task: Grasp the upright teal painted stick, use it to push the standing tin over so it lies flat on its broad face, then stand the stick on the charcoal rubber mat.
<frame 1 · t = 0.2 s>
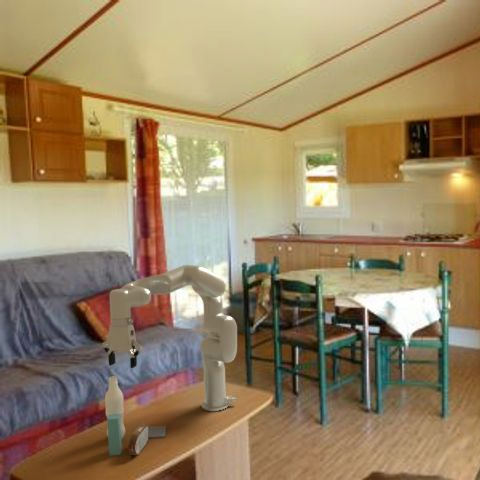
hand: (122, 365, 202), 31 cm above the table, tool pointing down, fingers open, 9 cm apart
tin: (140, 450, 201), on the table
mat: (150, 433, 214), on the table
stick: (115, 452, 199), on the table
water bottle: (116, 438, 210), on the table
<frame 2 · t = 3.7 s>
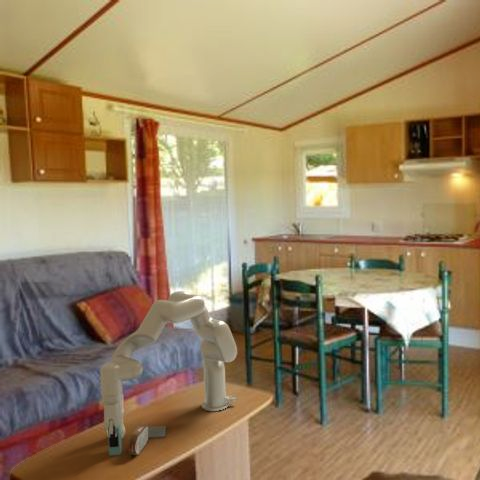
hand: (114, 443, 199), 4 cm above the table, tool pointing down, fingers closed on stick, 4 cm apart
stick: (115, 452, 199), on the table, touching gripper
everything else where it was.
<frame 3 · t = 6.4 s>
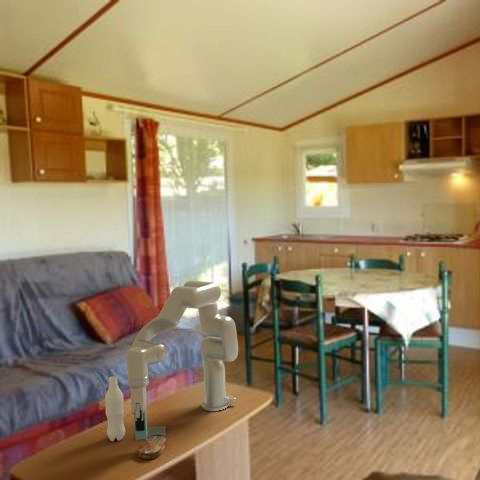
hand: (140, 427, 199), 9 cm above the table, tool pointing down, fingers closed on stick, 4 cm apart
tin: (142, 446, 200), point 1 cm above the table
stick: (141, 436, 199), point 5 cm above the table, touching gripper
everything else where it was.
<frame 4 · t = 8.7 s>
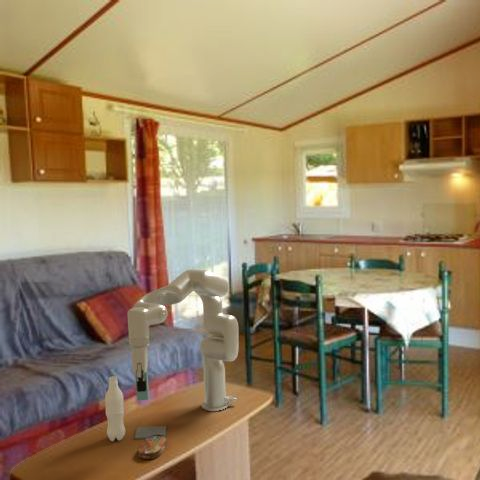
hand: (142, 388, 198), 24 cm above the table, tool pointing down, fingers closed on stick, 4 cm apart
stick: (143, 398, 198), point 20 cm above the table, touching gripper
everything else where it was.
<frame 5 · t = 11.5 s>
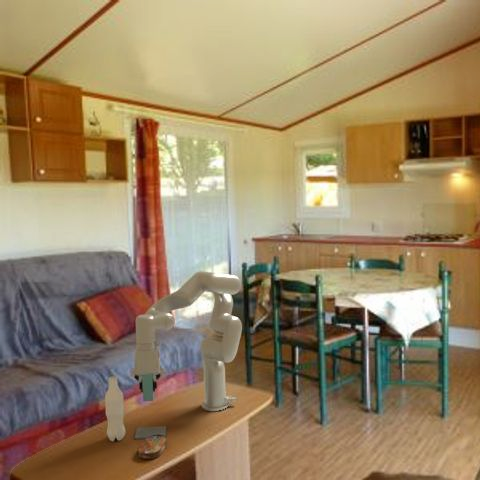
hand: (148, 390, 212), 18 cm above the table, tool pointing down, fingers closed on stick, 4 cm apart
stick: (148, 399, 212), point 14 cm above the table, touching gripper
everything else where it was.
when the fingers open (6 cm above the table, at t = 14.0 s): stick drops 1 cm, resting on mat.
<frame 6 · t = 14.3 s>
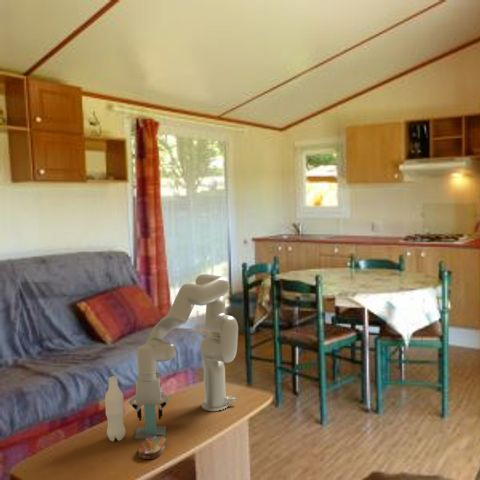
hand: (150, 418, 213), 6 cm above the table, tool pointing down, fingers open, 7 cm apart
stick: (151, 431, 214), point 1 cm above the table, touching mat
everything else where it was.
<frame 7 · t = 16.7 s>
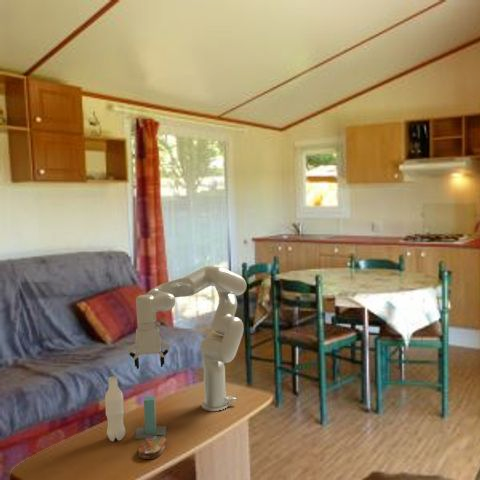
hand: (149, 366, 214), 27 cm above the table, tool pointing down, fingers open, 9 cm apart
nothing on the table moved.
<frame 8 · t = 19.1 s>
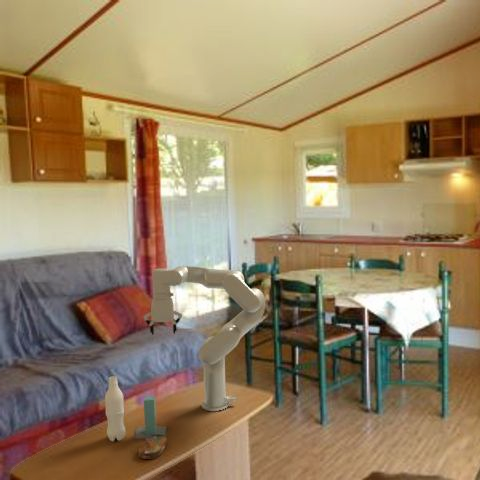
hand: (163, 333, 239), 33 cm above the table, tool pointing down, fingers open, 9 cm apart
nothing on the table moved.
at the end: tin tilted 86°; stick inside the target area on the mat (0.1 cm from its centre), point 0.6 cm above the mat's base; stick tilted 0° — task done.
